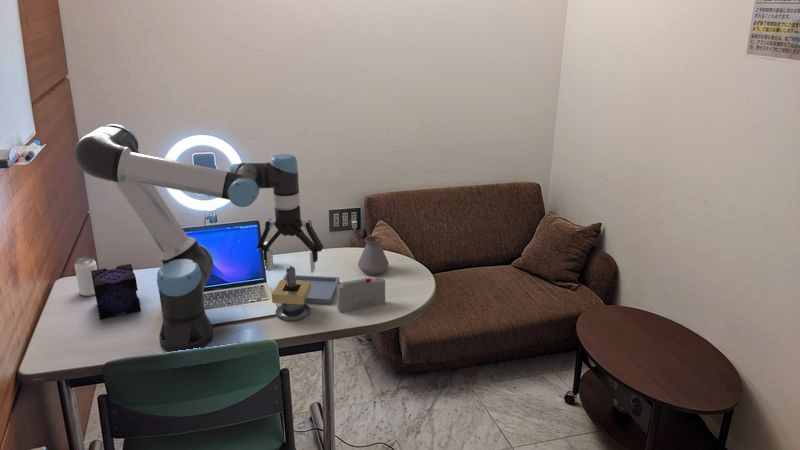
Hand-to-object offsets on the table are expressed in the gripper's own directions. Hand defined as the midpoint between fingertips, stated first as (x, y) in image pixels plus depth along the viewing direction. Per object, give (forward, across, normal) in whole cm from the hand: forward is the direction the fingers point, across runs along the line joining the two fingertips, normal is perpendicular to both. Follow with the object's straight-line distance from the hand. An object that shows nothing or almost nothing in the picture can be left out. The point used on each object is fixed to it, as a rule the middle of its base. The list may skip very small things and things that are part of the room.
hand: (291, 270), depth 187 cm
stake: (+15, 0, 0) cm, 15 cm away
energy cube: (+15, +58, +3) cm, 59 cm away
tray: (+15, 0, -15) cm, 21 cm away
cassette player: (+16, -21, -6) cm, 27 cm away
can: (+14, +72, -6) cm, 74 cm away
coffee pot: (+16, -20, -39) cm, 46 cm away
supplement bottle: (+15, +20, -33) cm, 41 cm away
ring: (+9, 0, -1) cm, 9 cm away
